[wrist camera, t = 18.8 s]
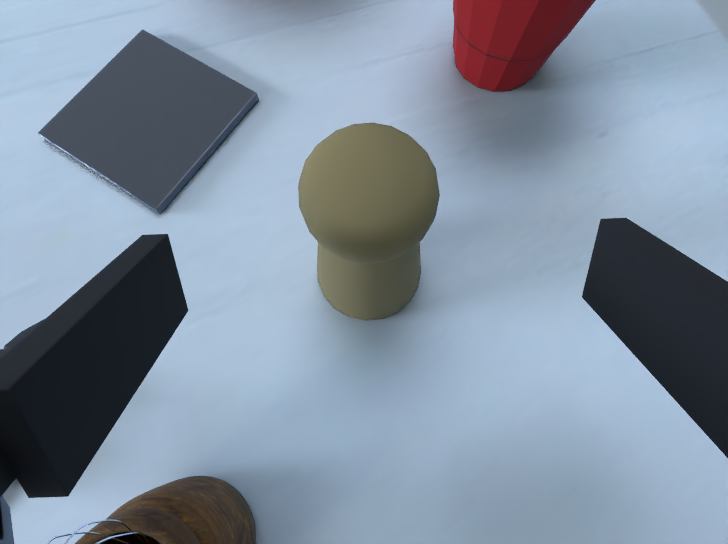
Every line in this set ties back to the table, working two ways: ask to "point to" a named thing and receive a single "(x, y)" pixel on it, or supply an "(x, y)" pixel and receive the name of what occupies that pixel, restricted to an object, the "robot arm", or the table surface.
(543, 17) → the plastic cup
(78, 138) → the slate coaster
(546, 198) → the table surface
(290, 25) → the table surface
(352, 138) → the cork
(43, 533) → the table surface
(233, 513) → the utensil holder
